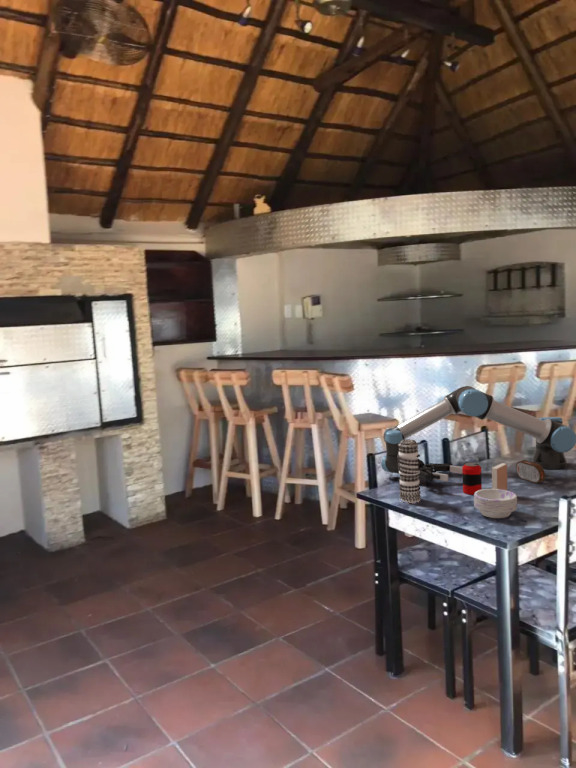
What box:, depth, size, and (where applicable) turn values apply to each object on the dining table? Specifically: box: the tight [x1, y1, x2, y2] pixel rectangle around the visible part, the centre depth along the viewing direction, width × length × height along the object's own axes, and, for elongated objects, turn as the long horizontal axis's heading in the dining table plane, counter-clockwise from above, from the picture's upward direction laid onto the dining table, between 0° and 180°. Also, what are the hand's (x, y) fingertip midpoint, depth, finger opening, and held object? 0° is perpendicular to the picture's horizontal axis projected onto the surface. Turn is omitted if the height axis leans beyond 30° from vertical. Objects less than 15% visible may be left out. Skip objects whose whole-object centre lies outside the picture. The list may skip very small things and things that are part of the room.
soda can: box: [461, 462, 483, 496], centre depth 255 cm, size 8×8×12 cm
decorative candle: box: [397, 438, 422, 504], centre depth 248 cm, size 9×9×25 cm
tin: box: [515, 459, 546, 484], centre depth 266 cm, size 15×3×8 cm, turn 22°
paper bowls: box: [473, 488, 518, 519], centre depth 227 cm, size 15×15×8 cm
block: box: [491, 462, 508, 491], centre depth 246 cm, size 2×9×13 cm, turn 136°
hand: (456, 474), depth 259 cm, fingers open, 13 cm apart
